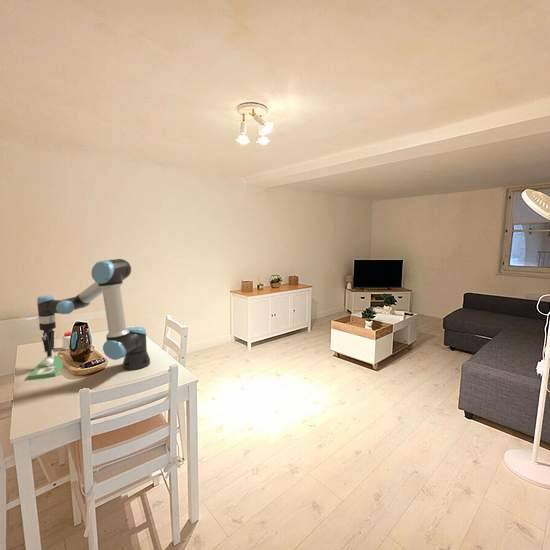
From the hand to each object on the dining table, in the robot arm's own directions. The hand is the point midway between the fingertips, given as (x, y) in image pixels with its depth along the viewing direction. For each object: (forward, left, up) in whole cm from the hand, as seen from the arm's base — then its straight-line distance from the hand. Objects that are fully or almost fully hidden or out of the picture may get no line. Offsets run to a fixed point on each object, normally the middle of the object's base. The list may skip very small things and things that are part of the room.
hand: (50, 361), depth 177 cm
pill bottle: (-2, -31, -4) cm, 32 cm away
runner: (0, +1, -4) cm, 4 cm away
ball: (0, +3, 0) cm, 3 cm away
